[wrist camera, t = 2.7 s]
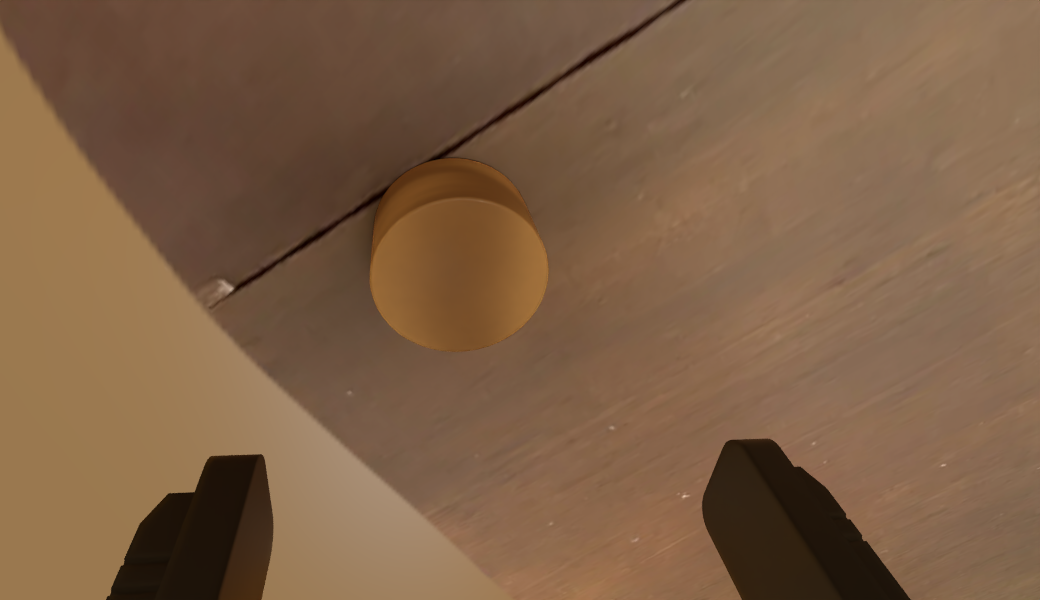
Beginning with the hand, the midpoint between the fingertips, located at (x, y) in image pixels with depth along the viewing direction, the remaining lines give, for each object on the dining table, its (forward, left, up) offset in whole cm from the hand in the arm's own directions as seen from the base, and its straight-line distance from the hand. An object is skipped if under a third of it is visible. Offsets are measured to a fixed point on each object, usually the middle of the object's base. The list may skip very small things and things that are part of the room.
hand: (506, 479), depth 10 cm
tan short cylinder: (0, 0, -10) cm, 10 cm away
